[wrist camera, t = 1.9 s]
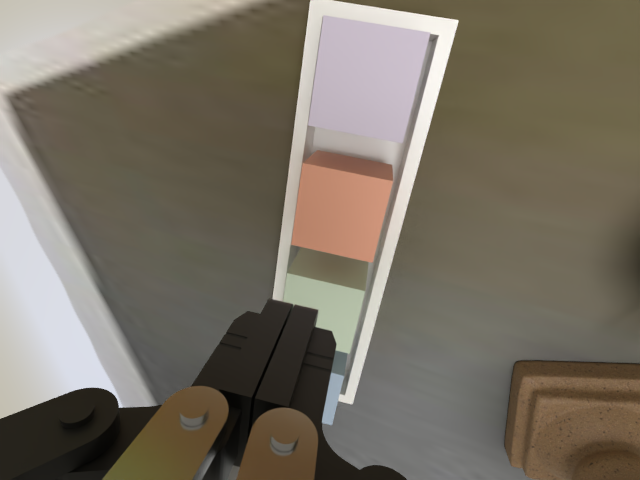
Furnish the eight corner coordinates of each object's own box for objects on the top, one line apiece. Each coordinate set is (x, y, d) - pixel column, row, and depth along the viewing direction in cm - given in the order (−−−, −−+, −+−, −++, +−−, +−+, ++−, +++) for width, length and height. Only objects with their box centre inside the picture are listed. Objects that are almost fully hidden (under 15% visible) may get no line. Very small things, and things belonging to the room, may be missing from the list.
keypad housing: (356, 370, 34) (352, 404, 31) (275, 350, 35) (262, 380, 31) (447, 30, 23) (458, 20, 19) (322, 10, 23) (310, -4, 20)
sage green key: (355, 315, 28) (349, 353, 24) (293, 300, 29) (278, 336, 25) (369, 259, 26) (365, 291, 22) (302, 244, 27) (286, 273, 23)
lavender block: (400, 133, 22) (402, 143, 18) (322, 118, 23) (307, 125, 19) (422, 43, 20) (430, 32, 16) (336, 29, 21) (323, 15, 17)
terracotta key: (375, 234, 25) (372, 262, 21) (306, 219, 26) (291, 244, 22) (392, 164, 23) (393, 181, 19) (317, 149, 24) (302, 163, 20)
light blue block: (339, 381, 31) (331, 425, 27) (283, 366, 32) (268, 408, 28) (350, 335, 29) (344, 375, 25) (290, 320, 30) (274, 358, 25)
